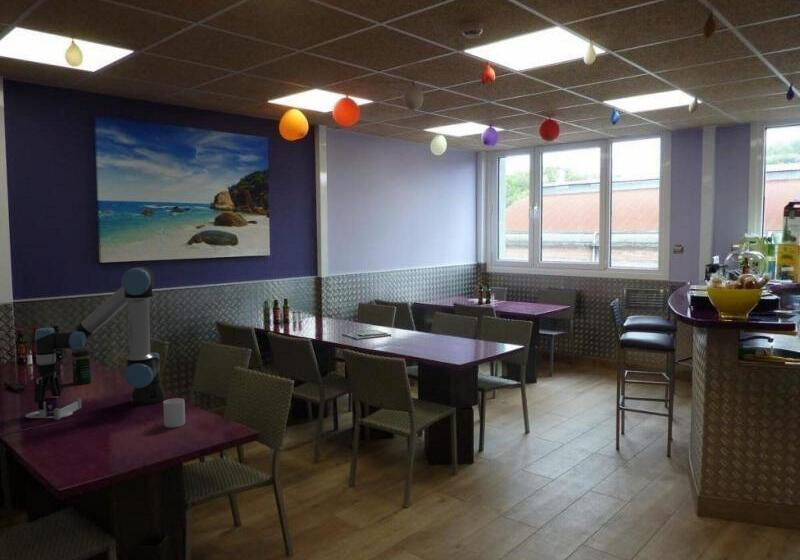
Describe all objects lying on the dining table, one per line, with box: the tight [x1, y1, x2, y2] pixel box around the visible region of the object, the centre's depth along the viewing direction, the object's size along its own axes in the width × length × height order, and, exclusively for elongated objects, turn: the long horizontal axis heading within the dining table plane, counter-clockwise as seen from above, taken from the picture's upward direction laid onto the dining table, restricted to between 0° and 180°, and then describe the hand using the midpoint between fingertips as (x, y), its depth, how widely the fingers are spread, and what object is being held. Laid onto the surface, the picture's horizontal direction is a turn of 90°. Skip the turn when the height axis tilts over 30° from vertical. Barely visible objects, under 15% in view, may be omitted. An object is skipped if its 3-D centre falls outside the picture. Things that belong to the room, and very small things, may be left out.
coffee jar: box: [71, 348, 92, 385], centre depth 320 cm, size 10×8×19 cm
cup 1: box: [44, 396, 60, 417], centre depth 265 cm, size 7×10×7 cm
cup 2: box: [162, 397, 186, 429], centre depth 251 cm, size 8×12×10 cm
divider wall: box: [53, 397, 82, 421], centre depth 266 cm, size 2×18×4 cm, turn 178°
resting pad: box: [25, 410, 74, 419], centre depth 265 cm, size 20×9×1 cm, turn 87°
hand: (49, 413), depth 265 cm, fingers closed on cup 1, 8 cm apart
